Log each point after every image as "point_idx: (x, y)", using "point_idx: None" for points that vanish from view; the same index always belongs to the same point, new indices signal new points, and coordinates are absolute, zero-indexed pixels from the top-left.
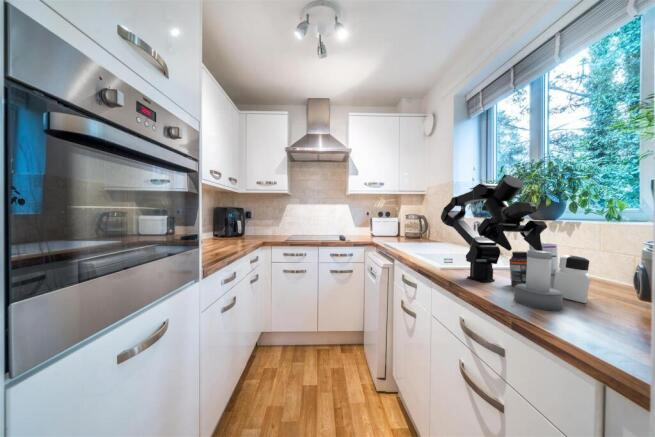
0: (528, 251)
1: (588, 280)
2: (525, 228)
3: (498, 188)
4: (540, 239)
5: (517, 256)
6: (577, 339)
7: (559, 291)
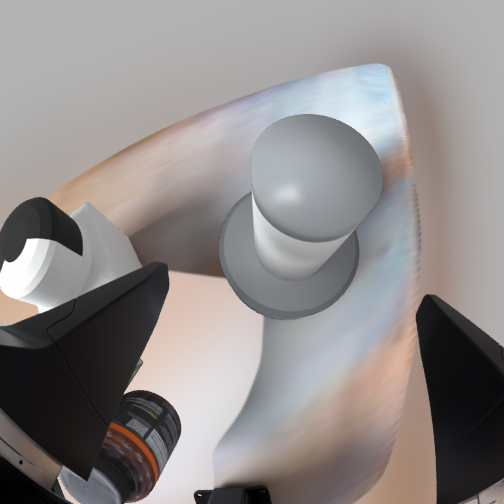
0: (379, 194)
1: (92, 206)
2: (33, 500)
3: None
4: (72, 299)
5: (123, 475)
6: (381, 110)
7: (239, 206)
